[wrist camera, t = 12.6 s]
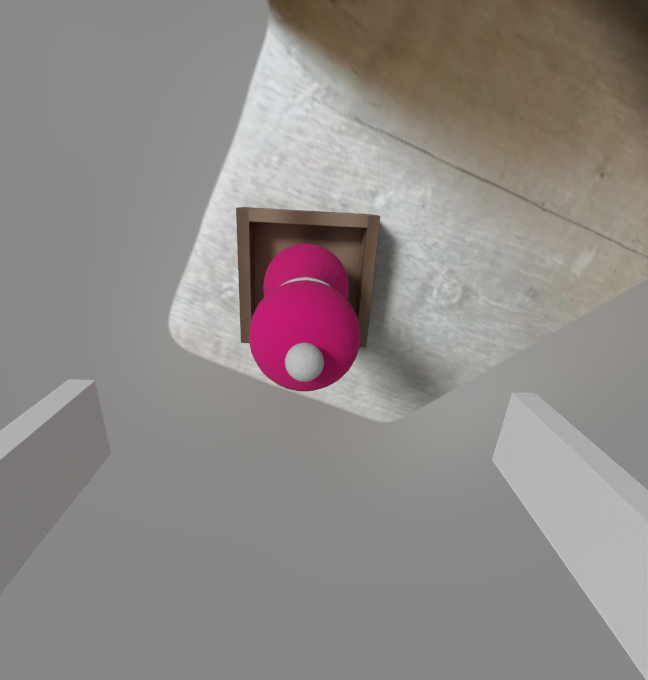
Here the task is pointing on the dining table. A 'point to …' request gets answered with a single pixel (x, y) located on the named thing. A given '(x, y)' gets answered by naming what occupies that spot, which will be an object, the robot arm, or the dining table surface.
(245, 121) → the dining table surface
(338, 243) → the holder tray
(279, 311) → the pepper mill
